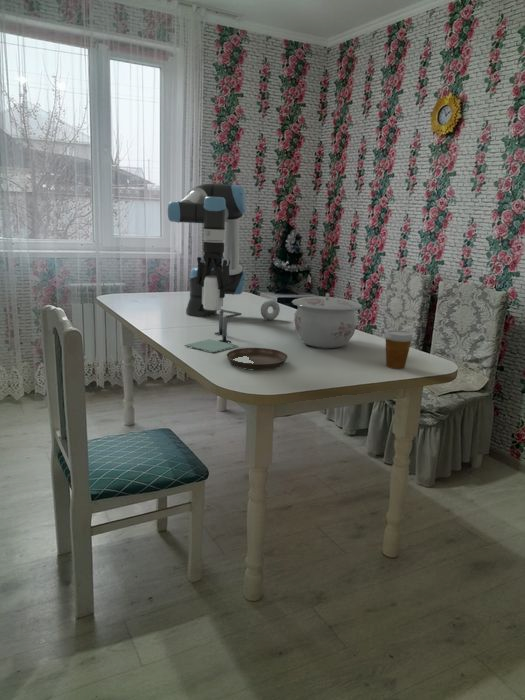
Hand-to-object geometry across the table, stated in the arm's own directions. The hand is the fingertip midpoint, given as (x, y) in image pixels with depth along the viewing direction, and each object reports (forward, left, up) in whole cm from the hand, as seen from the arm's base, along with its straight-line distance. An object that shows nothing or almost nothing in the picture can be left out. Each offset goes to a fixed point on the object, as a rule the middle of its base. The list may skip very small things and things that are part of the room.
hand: (212, 305), depth 198 cm
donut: (-15, +61, -16) cm, 65 cm away
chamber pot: (+29, +35, -16) cm, 48 cm away
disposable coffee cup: (+63, +24, -16) cm, 69 cm away
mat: (0, 0, -16) cm, 16 cm away
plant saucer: (+26, -7, -16) cm, 31 cm away
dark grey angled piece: (-6, +15, -16) cm, 23 cm away
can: (0, 0, -2) cm, 2 cm away
